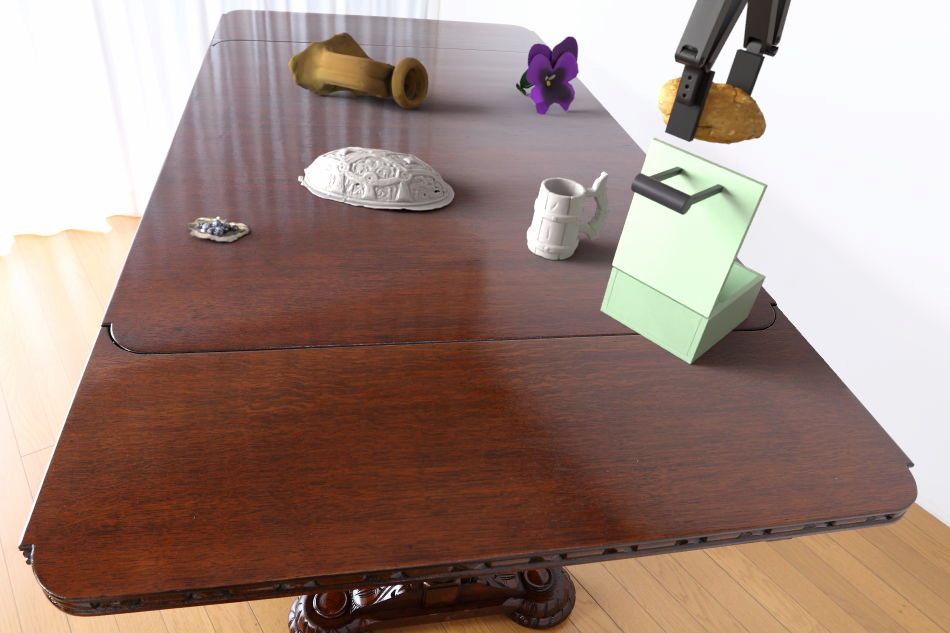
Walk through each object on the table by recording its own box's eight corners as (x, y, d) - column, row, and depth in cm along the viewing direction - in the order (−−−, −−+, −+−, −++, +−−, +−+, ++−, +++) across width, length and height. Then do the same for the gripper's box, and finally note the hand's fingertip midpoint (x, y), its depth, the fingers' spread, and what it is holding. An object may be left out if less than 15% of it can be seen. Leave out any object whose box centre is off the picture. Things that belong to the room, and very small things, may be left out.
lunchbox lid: (655, 137, 76) (606, 151, 70) (768, 184, 69) (725, 205, 63) (615, 263, 85) (568, 285, 79) (711, 316, 78) (669, 345, 72)
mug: (517, 235, 103) (531, 161, 95) (588, 232, 106) (606, 160, 99) (535, 262, 97) (551, 186, 90) (609, 258, 100) (630, 184, 93)
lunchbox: (662, 272, 99) (675, 231, 95) (747, 317, 92) (766, 276, 88) (600, 310, 89) (612, 267, 85) (690, 364, 82) (708, 320, 78)
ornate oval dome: (447, 217, 103) (449, 174, 100) (285, 199, 104) (283, 156, 101) (459, 183, 116) (462, 144, 113) (316, 167, 117) (314, 129, 114)
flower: (498, 122, 153) (535, 114, 142) (489, 52, 149) (526, 38, 138) (549, 116, 160) (587, 107, 149) (540, 49, 157) (580, 35, 145)
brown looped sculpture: (354, 38, 148) (436, 46, 138) (348, 99, 152) (427, 112, 142) (291, 20, 133) (376, 29, 123) (286, 89, 137) (369, 103, 126)
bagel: (768, 156, 64) (788, 107, 62) (652, 135, 65) (666, 86, 62) (753, 121, 72) (770, 76, 70) (650, 103, 73) (663, 58, 70)
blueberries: (187, 221, 95) (185, 209, 93) (247, 217, 97) (246, 205, 96) (189, 246, 90) (187, 233, 89) (252, 241, 93) (251, 229, 91)
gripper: (801, -137, 64) (722, 95, 78) (684, -153, 50) (612, 134, 63) (882, -124, 61) (784, 117, 74) (780, -137, 46) (682, 164, 60)
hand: (705, 125), depth 69 cm, fingers closed on bagel, 10 cm apart
